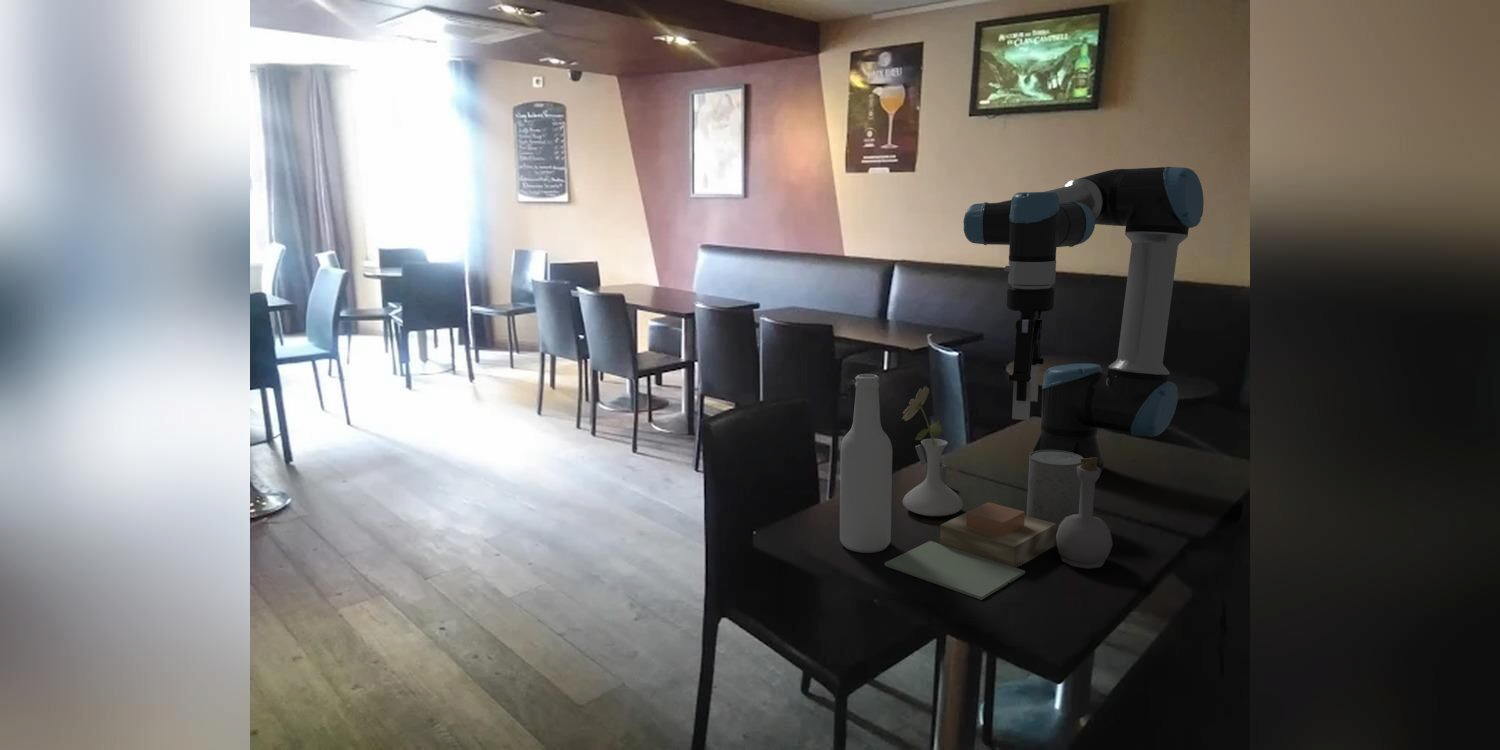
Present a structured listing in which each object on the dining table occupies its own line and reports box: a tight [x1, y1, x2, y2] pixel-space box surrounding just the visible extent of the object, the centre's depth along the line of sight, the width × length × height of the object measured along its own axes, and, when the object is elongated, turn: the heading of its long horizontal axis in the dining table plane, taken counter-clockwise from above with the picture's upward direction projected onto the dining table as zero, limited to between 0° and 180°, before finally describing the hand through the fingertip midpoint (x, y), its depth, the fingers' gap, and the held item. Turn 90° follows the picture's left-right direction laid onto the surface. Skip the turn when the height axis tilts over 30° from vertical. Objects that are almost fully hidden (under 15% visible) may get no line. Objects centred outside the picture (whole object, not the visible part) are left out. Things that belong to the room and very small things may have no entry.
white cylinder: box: [1025, 450, 1084, 531], centre depth 161 cm, size 10×10×12 cm
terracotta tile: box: [966, 501, 1026, 537], centre depth 149 cm, size 7×7×2 cm
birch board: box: [939, 512, 1057, 568], centre depth 150 cm, size 14×14×4 cm
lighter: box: [915, 443, 948, 486], centre depth 184 cm, size 7×2×8 cm, turn 42°
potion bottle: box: [1055, 457, 1113, 570], centre depth 143 cm, size 9×9×18 cm
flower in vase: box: [901, 385, 964, 517], centre depth 165 cm, size 13×11×25 cm
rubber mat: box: [884, 540, 1026, 601], centre depth 142 cm, size 13×18×1 cm
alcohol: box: [839, 373, 893, 554], centre depth 150 cm, size 9×9×30 cm
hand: (1025, 409), depth 150 cm, fingers open, 13 cm apart
